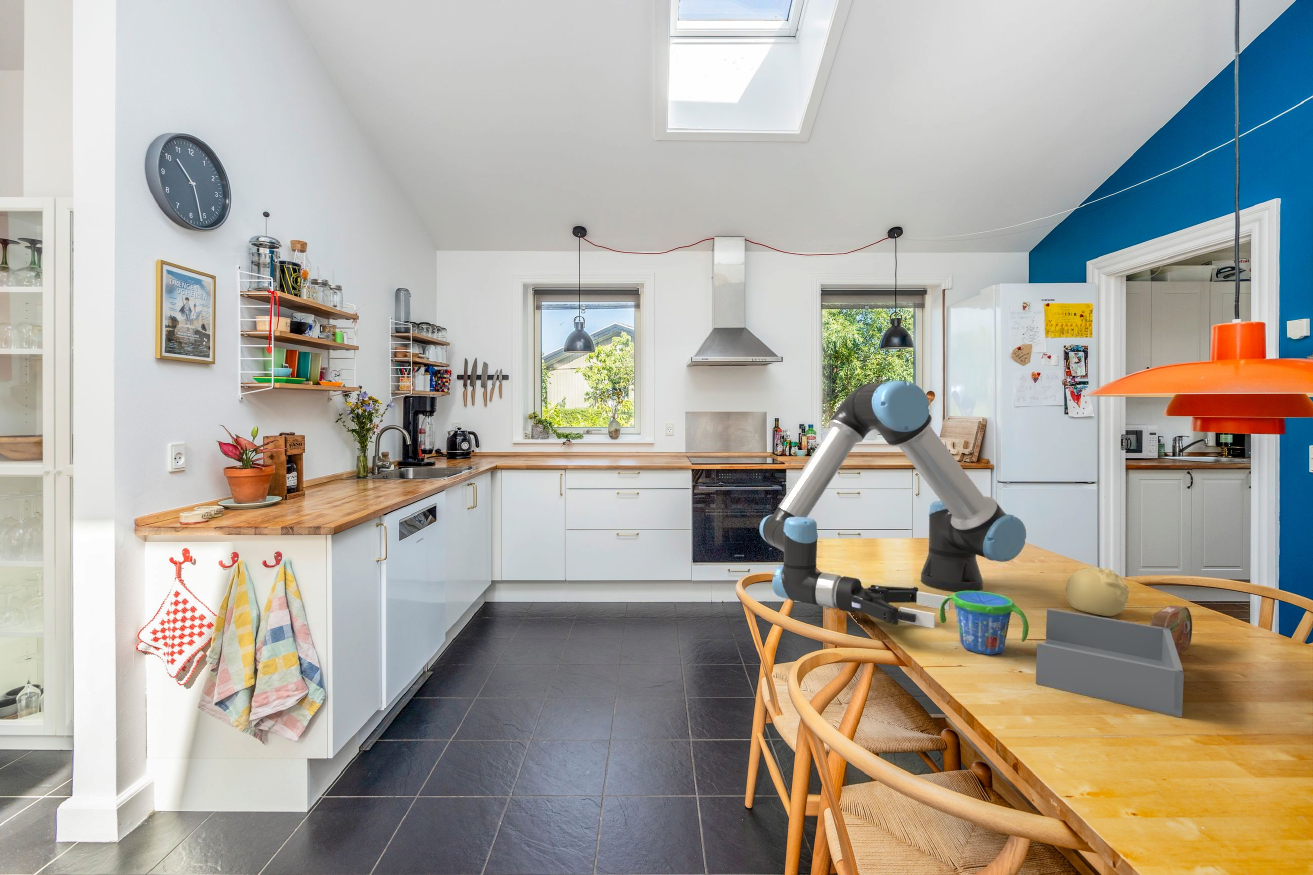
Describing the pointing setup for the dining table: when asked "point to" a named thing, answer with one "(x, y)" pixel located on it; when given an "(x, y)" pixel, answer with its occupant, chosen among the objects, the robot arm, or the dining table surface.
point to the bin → (1111, 661)
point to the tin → (1175, 625)
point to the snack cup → (983, 620)
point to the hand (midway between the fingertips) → (942, 611)
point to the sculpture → (1097, 591)
